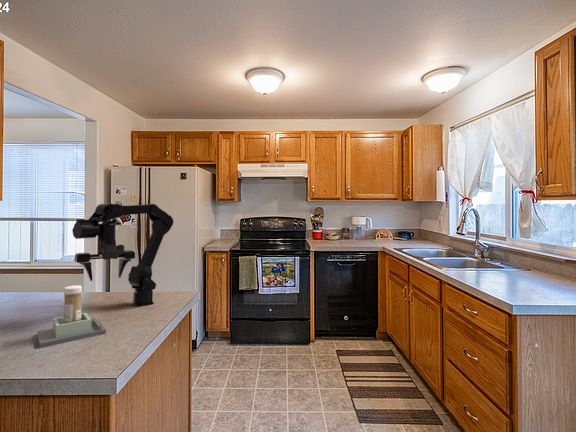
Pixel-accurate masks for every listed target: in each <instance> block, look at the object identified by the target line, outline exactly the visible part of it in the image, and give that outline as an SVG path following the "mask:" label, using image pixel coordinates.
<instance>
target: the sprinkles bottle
mask: <svg viewBox="0 0 576 432" xmlns="http://www.w3.org/2000/svg"><path fill="white" fill-rule="evenodd" d="M82 292H83V286H82V285H80V284H79V285H70V286H68V285H67V286H65V287H64V288H63V294H64V295H63V296H64V304H63V311H64V312H63V317H64V324H66V323H71V322H76V321H81V313H82Z"/></svg>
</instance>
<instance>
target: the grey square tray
mask: <svg viewBox="0 0 576 432" xmlns="http://www.w3.org/2000/svg"><path fill="white" fill-rule="evenodd" d="M105 334H107V329H106V327H105V326H104V325H103V324H102V323H101V321H100V320H99V319H97V318H96V317H92V318H91V317H90V316H89V314H88V313H87V312H81V321H76V322H71V323H66V324H64V316H59V317H58V316H57V317H53V318H52V328H51V327H50V328H46V329H40V330H37V331H36V337H37V341H38V345H39V348H46V347H49V346H50V347H51V346H55V345H59V344H64V343H68V342H69V343H70V342H73V341H78V340H81V339H82V340H83V339H86V338H91V337H96V336H99V335H105Z"/></svg>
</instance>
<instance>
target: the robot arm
mask: <svg viewBox="0 0 576 432" xmlns="http://www.w3.org/2000/svg"><path fill="white" fill-rule="evenodd" d="M141 214H146V215H147V216H148V219H149V220H150V221H152V222H151V223H152V224H151V231H152V232H151V235H150V237H149V239H148V242H147V244H146V247H145V250H144V251H143V253H142V256H141V259H140V260H139V263H138V264H137V265H136V266H135V265H132V267H131V268H130V271H129V273H128V274H127V276H128V278H127V281H128V284H130V286H131V288H132V290H134V292H133V294H132V304H133V305H135V306H136V307H143V306H147V305H152V304H155V302H154V301H153V297H154V296H153V290H156V288H157V283H156V282H155V281H154V280H153V279H152V276H153V270H152V269H153V268H152V266H153V265H154V261H155V258H156V256H157V254H158V251H159V249H160V247H161V244H162V241H163V239H164V236H166V234H167V233H168V232H170V230H171V229H172V227H173V225H174V222H175V221H174V219H173V217H172V216H171V215H169V214H168V212H166V211H165V210H163V209H162V208H160V207H159V206H158V205H157V204H155V203H146V204H134V205H133V204H131V205H130V204H129V205H123V204H117V203H99V204H98V205H97V206H96V207H95V210H94V212H93V213H92V215H91V216H90V217H89V218H88V219H83V218H76V220H75V221H76V222H75V223H74V225H73V228H72V235H73V237H74V239H78V240H79V239H95V238H96V237H97V239H96V240H97V243H96V245H97V246H96V248H97V249H96V254H95V253H93V254H92V253H89V252H78V253H77V252H76V253H75V255H74V262H76V263H78V264H80V265H83V267H84V268H85V271H86V273H87V276H88V279H89V281H90V282H92V281H93V272H92V270H93V269H92V262H91V260H100V259H101V260H117V259H118V258H119V260H118V271H117V273H118V275H117V276H118V279H119V278H122V274H123V272H124V269H125V267H126V265H127V263H128V262H131V261H132V259H134V260H135V259H136V252H135V251H133V250H129V249H126V250H125V245H124V244H118V245H117V242H116V226H122V222H120V221H119V220H118V219H119V218H122V217H124V216H130V215H141Z"/></svg>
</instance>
